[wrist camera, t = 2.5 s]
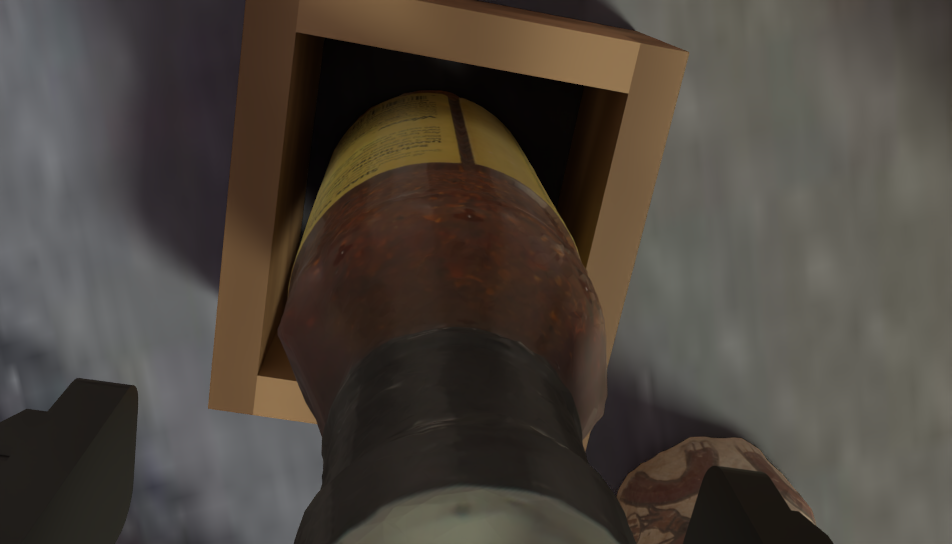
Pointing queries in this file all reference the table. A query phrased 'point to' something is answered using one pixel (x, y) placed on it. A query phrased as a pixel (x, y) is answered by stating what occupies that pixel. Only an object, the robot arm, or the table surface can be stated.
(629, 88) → the square holder
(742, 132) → the table surface
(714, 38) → the table surface
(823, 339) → the table surface
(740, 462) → the figurine
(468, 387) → the sauce bottle
